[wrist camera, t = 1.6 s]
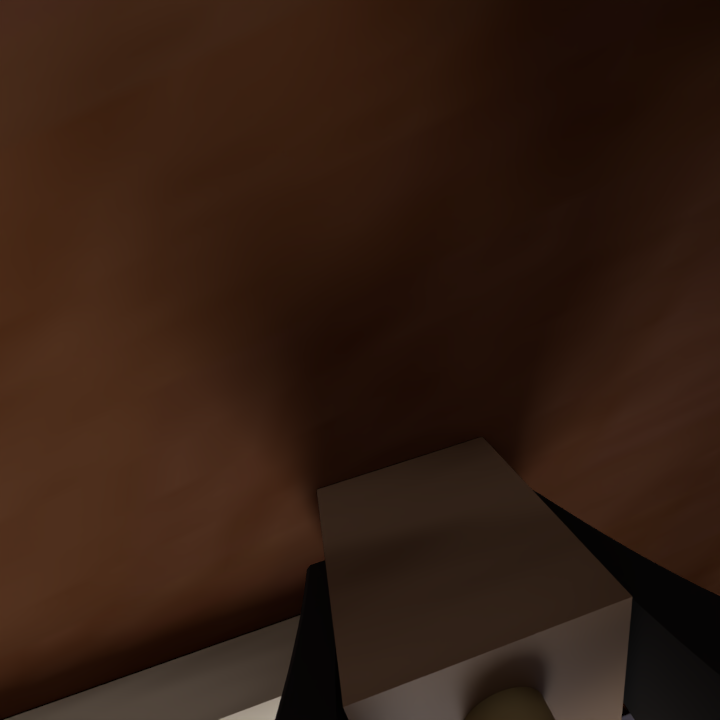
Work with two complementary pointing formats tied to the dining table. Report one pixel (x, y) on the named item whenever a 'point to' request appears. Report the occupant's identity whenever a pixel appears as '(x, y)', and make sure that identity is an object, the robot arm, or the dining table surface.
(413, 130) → the dining table surface
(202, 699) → the board
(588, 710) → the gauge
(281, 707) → the robot arm
